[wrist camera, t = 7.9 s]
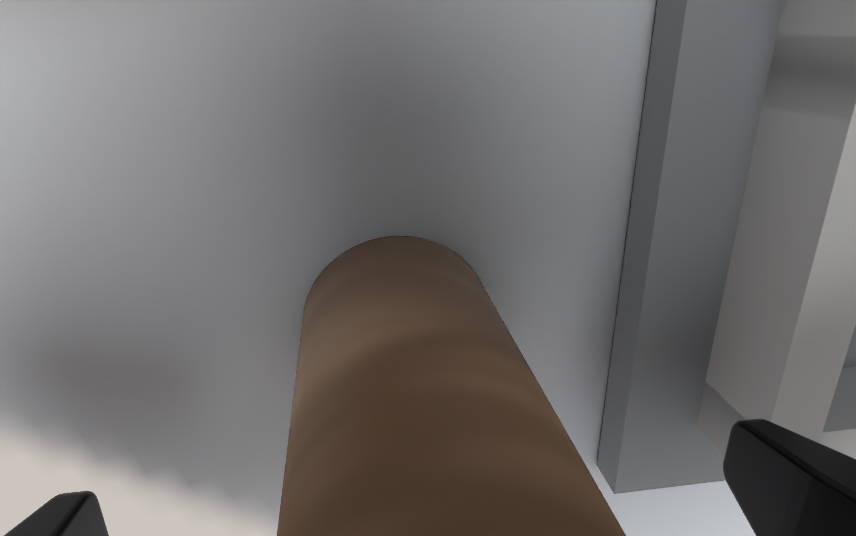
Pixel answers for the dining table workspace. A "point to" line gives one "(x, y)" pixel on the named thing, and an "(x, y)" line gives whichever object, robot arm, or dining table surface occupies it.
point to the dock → (737, 240)
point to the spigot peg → (423, 411)
